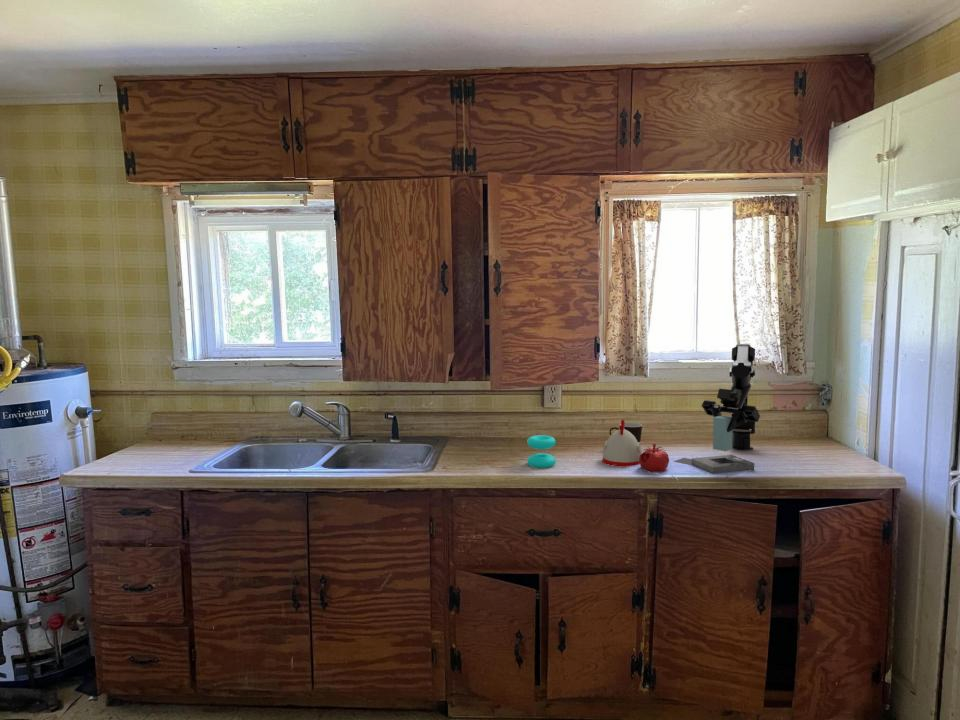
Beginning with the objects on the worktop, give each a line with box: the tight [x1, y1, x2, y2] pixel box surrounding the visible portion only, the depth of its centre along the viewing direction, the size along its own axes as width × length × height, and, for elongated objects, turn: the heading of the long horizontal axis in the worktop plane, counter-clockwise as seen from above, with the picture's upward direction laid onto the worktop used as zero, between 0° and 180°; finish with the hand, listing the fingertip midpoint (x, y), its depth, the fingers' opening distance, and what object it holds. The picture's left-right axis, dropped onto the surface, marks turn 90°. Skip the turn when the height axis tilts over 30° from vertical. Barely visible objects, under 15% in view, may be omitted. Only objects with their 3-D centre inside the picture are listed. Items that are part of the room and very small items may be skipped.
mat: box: [673, 457, 693, 466], centre depth 221 cm, size 7×7×1 cm
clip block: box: [712, 414, 733, 452], centre depth 212 cm, size 4×4×11 cm
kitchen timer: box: [602, 419, 643, 467], centre depth 223 cm, size 14×14×15 cm
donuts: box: [526, 434, 557, 469], centre depth 220 cm, size 10×10×10 cm
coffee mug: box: [609, 422, 643, 443], centre depth 240 cm, size 12×9×10 cm
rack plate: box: [691, 454, 755, 475], centre depth 213 cm, size 12×16×3 cm
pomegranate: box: [639, 443, 670, 473], centre depth 212 cm, size 10×10×9 cm
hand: (720, 430), depth 211 cm, fingers closed on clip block, 4 cm apart
